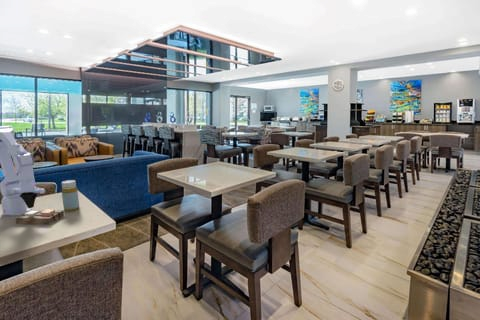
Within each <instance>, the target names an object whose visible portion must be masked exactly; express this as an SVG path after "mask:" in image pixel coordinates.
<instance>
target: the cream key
mask: <svg viewBox="0 0 480 320" xmlns="http://www.w3.org/2000/svg"><path fill="white" fill-rule="evenodd" d="M38 213H39V211H29V212H26V213H25V214H24V215H25V216H35V215H36V214H38Z"/></svg>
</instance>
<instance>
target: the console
mask: <svg viewBox="0 0 480 320" xmlns="http://www.w3.org/2000/svg"><path fill="white" fill-rule="evenodd" d="M45 210H46V209H32V210H30V211H39V213H38V214H36V215H35V216H25V215H24V214H25V213H24V214H22V215H17V216H16V217H14V219H15V224H16V225H44V226H45V225H48V226H50V225H52V224H53V223H54V222H57V221H58V220H60V219H62V218H63V217H65V213H64V211H65V210H64V209H61V210H60V209H57V210H56V209H54V210H55V213H54V214H53V215H51V216H41V212H43V211H45ZM28 212H29V211H28Z"/></svg>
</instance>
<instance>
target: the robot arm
mask: <svg viewBox="0 0 480 320" xmlns="http://www.w3.org/2000/svg"><path fill="white" fill-rule="evenodd" d="M15 133H16V132H15V129H14V127H13V126H12V125H4V126H2V125H1V126H0V167H1V170H2V173H3V175H4V178H3V179H2V180H1V181H0V193H1V195H2V199H1V200H0V204H1V205H0V206H1V210H2V211H1V212H2V213H1V215H2V216H22V214H24V213H27V212H28V211H30V210H33V209H32V208H34V207H35V203H36V198H37V196H38V194H42V195H43V194H45V193H46V189H45V188H42V187H36V181H35V175H34V167H33V166H34V165H35V157H34V156H33V154H32V153H31V152H30V151H27V150H26V149H25V147H23V145H22V144H21V143H18V142H17V140H16V138H15V135H16V134H15Z"/></svg>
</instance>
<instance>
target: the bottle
mask: <svg viewBox="0 0 480 320" xmlns="http://www.w3.org/2000/svg"><path fill="white" fill-rule="evenodd" d="M61 188H62V189H61V195H62V196H61V198H62V205H63V210H64V211H65V212H74V211H77V210H79V208H80V200H79V191H78V188H77V183H76V180H75V179H68V180H63V181H62V182H61Z"/></svg>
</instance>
